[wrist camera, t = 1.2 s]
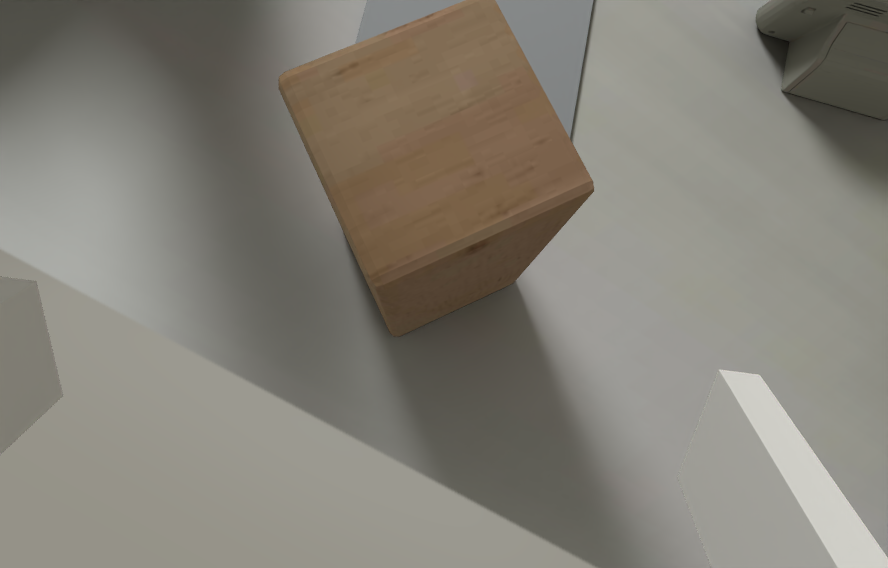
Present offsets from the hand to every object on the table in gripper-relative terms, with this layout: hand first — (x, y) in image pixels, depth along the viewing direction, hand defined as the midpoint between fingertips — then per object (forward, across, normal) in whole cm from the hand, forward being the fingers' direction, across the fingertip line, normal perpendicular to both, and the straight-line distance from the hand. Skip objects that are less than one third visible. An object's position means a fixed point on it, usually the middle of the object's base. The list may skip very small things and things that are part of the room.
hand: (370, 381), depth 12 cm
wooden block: (+30, -1, -10) cm, 32 cm away
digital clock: (+45, +31, +5) cm, 55 cm away
